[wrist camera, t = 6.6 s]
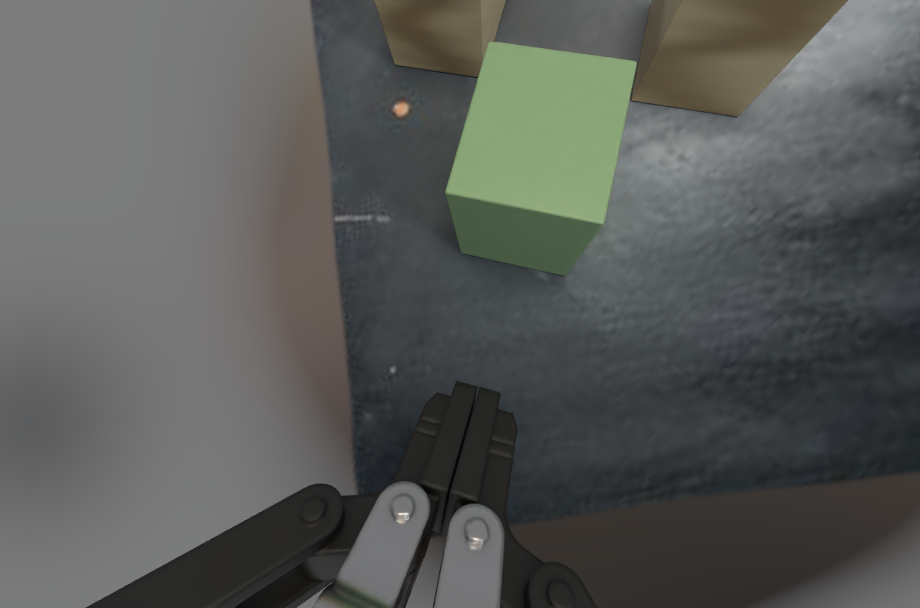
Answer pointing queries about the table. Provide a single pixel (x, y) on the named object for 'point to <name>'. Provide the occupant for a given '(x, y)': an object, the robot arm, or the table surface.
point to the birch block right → (722, 49)
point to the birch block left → (440, 32)
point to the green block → (538, 155)
